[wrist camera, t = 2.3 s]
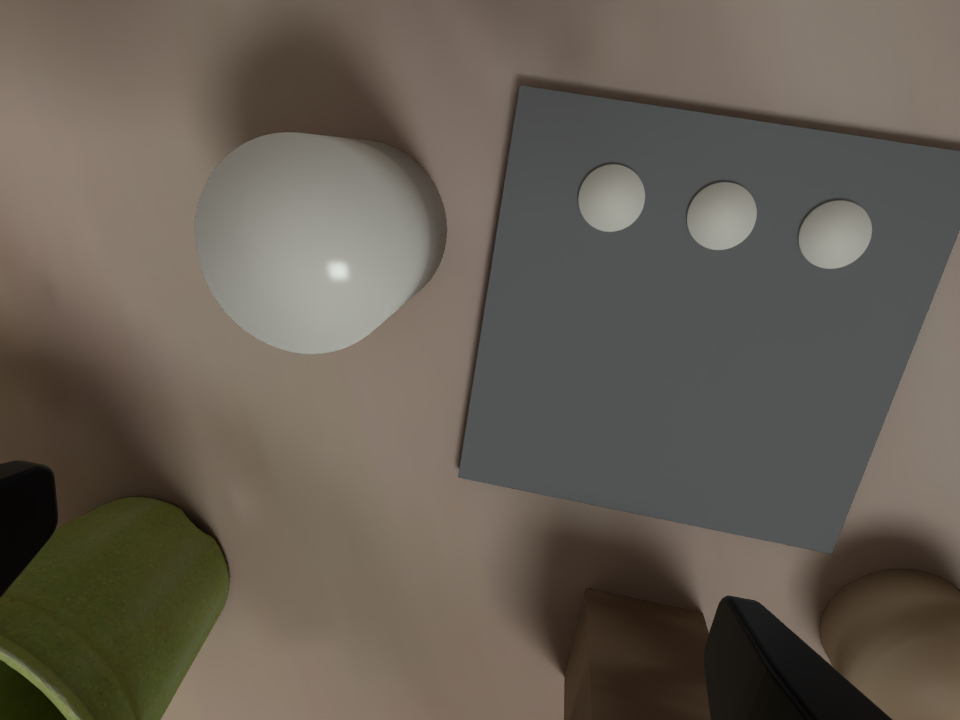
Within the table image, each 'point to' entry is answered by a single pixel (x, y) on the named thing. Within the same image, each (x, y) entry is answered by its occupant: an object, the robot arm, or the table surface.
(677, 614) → the walnut block
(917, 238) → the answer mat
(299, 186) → the white rounded block
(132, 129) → the table surface
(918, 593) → the beige round knob
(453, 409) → the table surface
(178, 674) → the plant pot
